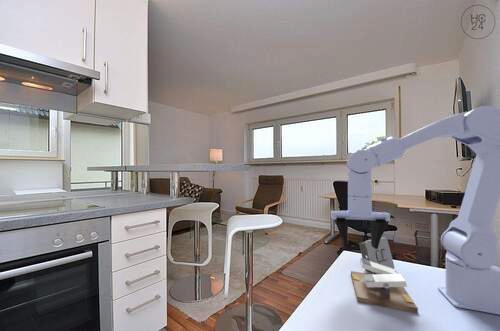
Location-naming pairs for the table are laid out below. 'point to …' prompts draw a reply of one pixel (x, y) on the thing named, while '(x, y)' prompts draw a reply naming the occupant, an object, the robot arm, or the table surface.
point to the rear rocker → (376, 267)
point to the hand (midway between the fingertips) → (359, 246)
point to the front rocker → (384, 280)
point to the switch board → (377, 298)
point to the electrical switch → (377, 253)
